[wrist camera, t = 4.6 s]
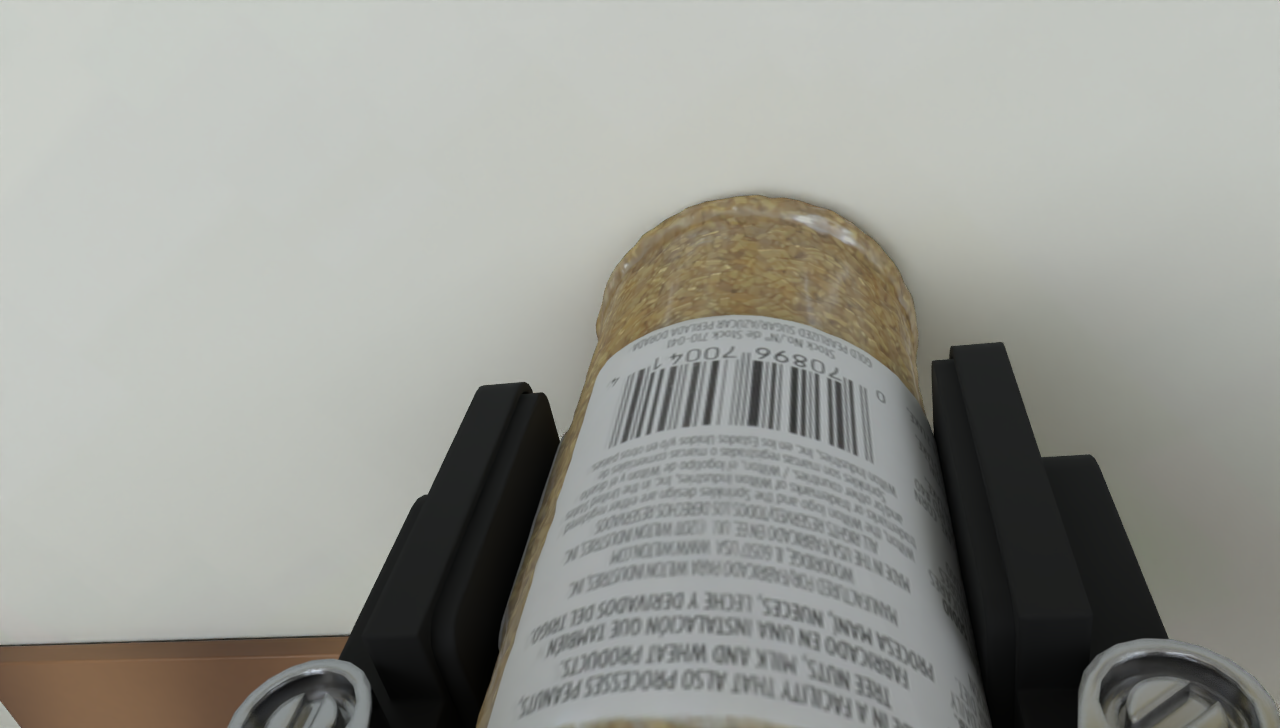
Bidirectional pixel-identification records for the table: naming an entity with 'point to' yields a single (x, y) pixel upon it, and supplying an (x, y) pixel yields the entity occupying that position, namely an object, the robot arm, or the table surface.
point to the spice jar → (744, 499)
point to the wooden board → (146, 680)
